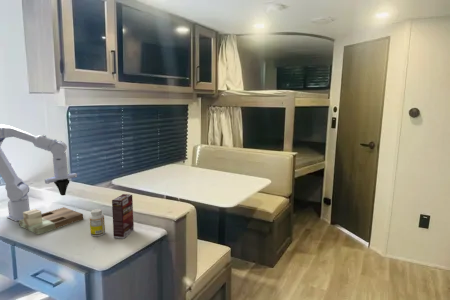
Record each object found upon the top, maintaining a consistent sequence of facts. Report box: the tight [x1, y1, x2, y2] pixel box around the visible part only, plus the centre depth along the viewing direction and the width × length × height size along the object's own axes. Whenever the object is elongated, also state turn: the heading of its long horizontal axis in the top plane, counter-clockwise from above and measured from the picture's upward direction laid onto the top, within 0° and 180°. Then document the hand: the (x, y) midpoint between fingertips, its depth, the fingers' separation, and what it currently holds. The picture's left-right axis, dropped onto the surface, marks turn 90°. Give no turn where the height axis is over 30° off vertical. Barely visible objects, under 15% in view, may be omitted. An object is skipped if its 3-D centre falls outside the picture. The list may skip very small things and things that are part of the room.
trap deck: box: [18, 207, 84, 235], centre depth 141 cm, size 16×20×2 cm
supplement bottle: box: [89, 208, 106, 237], centre depth 128 cm, size 6×6×10 cm
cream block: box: [23, 208, 42, 226], centre depth 134 cm, size 5×5×5 cm
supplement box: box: [111, 193, 135, 240], centre depth 128 cm, size 9×5×16 cm, turn 168°
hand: (62, 194), depth 150 cm, fingers closed
